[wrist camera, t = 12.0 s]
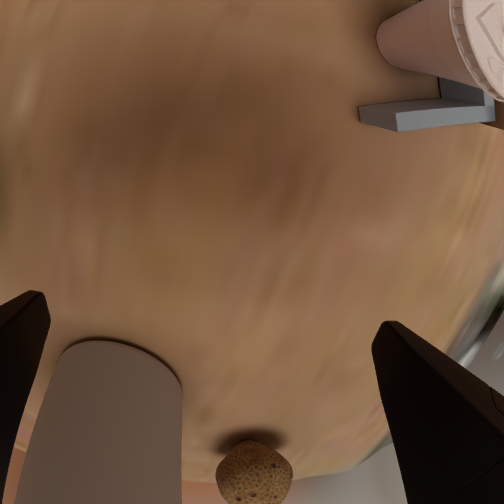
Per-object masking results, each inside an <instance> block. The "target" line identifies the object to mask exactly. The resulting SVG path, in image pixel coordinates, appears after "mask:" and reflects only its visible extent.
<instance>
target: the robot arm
mask: <svg viewBox="0 0 504 504" xmlns="http://www.w3.org/2000/svg"><path fill="white" fill-rule="evenodd" d="M50 323H51V318H50V314H49V310H48V306H47V302H46V299H45V295H44V294H43V293H42V292H39V291H34V290H29V291H27V292H25V293H23V294H21V295H19V296H17V297H16V298H14V299H12V300H10V301H8V302H6V303H5V304H3V305H1V306H0V504H2V499H3V493H4V488H5V482H6V477H7V472H8V468H9V463H10V459H11V455H12V450H13V447H14V443H15V439H16V435H17V432H18V428H19V425H20V421H21V418H22V415H23V411H24V408H25V405H26V402H27V399H28V396H29V393H30V390H31V387H32V384H33V382H34V379H35V376H36V373H37V369H38V366H39V362H40V359H41V355H42V351H43V348H44V344H45V341H46V337H47V334H48V331H49V327H50ZM371 349H372V356H373V360H374V365H375V370H376V376H377V381H378V386H379V391H380V396H381V400H382V404H383V407H384V411H385V414H386V418H387V421H388V425H389V428H390V432H391V436H392V440H393V443H394V447H395V451H396V455H397V459H398V463H399V467H400V471H401V476H402V480H403V484H404V488H405V493H406V498H407V503H408V504H504V396H503V395H501V394H500V393H498V392H497V391H496V390H494V389H493V388H491V387H489V386H488V384H486V383H485V382H483V381H482V380H481V379H479V378H478V377H476V376H475V375H474V374H472V373H470V372H469V371H468V370H467V369H465V368H464V367H462V366H461V365H460V364H458V363H457V362H455V361H454V360H453V359H451V358H450V357H448V356H447V355H445V354H444V353H443V352H441V351H440V350H438V349H437V348H436V347H434V346H433V345H431V344H430V343H428V342H427V341H426V340H424V339H423V338H421V337H420V336H418V335H417V334H415V333H414V332H413V331H411V330H410V329H408V328H407V327H405V326H404V325H402V324H401V323H400V322H398V321H384V322H383V323H382V324H381V326H380V328H379V330H378V332H377V334H376V336H375V338H374V340H373V343H372V348H371Z"/></svg>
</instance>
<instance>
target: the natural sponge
mask: <svg viewBox="0 0 504 504" xmlns="http://www.w3.org/2000/svg"><path fill="white" fill-rule="evenodd" d="M292 479H293V470H292V467H291V465H290V464H289V462H288V461H287V460H286V459H285V458H284V457H283V456H282V455H281V454H279V453H278V452H276V451H274V450H272V449H270V448H268V447H267V446H265V445H263V444H261V443H259V442H255V441H251V440H246V441H242V442H240V443H239V444H237V445H236V446H235V447H234V448H233V449H232V450H231V451H230V453H229V454H228V455H227V456H226V457H225V458H224V459H223V460H222V461H221V462H220V464H219V465H218V467H217V470H216V481H217V485H218V488H219V491H220V493H221V495H222V496H223V498H224V499H225V500H226V501H227V502H228V503H229V504H280V503H281V502H282V501H283V500H284V498H285V497H286V496H287V493H288V491H289V488H290V484H291V481H292Z"/></svg>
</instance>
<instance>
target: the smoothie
mask: <svg viewBox="0 0 504 504" xmlns="http://www.w3.org/2000/svg"><path fill="white" fill-rule="evenodd" d="M376 40H377V45H378V48H379V51H380V53H381V54H382V56H383V57H384V59H385V60H386V61H387V62H388V63H390V64H391V65H393V66H394V67H396V68H400V69H404V70H410V71H415V72H420V73H424V74H429V75H433V76H437V77H441V78H445V79H449V80H453V81H457V82H460V83H464V84H467V85H470V86H473V87H477V88H480V89H482V90H483V91H484V92H485V93H486V94H487V95H489V96H490V97H492V98H494V99H496V100H497V101H500V102H504V0H422V1H420V2H419V3H417V4H415V5H413V6H411V7H409V8H407V9H405V10H403V11H402V12H400V13H398V14H396V15H394V16H392V17H391V18H389V19H387V20H385V21H384V22H382V23H381V25H380V26H379V28H378V30H377V35H376Z"/></svg>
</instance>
